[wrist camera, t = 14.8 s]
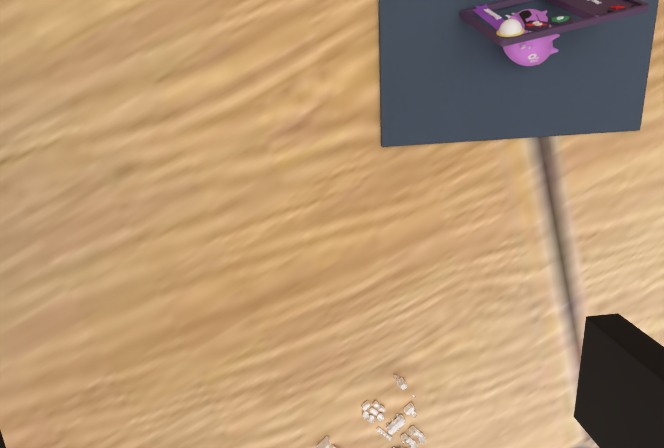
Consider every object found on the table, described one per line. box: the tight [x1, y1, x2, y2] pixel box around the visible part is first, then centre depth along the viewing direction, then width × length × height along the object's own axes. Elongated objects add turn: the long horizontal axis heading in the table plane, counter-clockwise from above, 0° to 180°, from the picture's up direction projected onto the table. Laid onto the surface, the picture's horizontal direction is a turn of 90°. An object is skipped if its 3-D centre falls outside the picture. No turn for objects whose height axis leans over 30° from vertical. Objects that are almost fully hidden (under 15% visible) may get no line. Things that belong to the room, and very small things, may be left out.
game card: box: [460, 0, 649, 66], centre depth 32 cm, size 7×5×9 cm
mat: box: [379, 0, 658, 147], centre depth 35 cm, size 20×15×1 cm
